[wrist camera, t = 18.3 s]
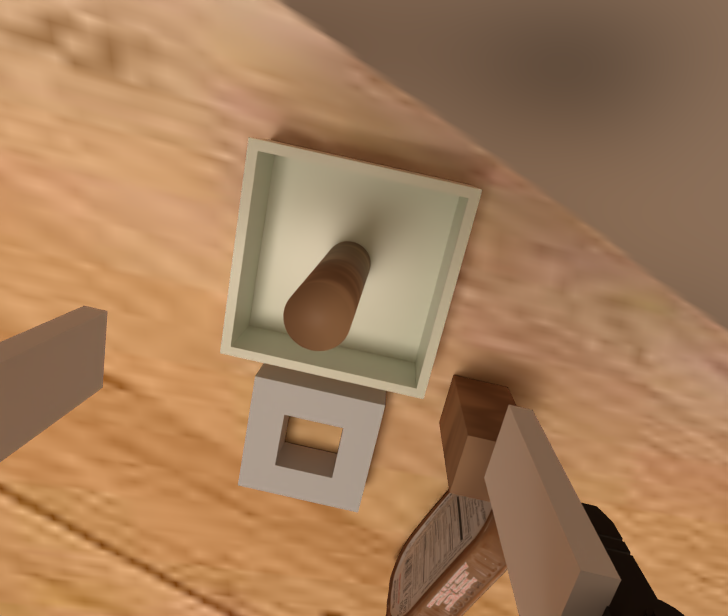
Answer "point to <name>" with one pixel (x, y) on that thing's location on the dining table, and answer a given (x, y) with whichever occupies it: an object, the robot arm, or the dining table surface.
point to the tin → (447, 560)
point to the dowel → (328, 298)
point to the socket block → (303, 464)
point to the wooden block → (471, 433)
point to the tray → (323, 231)
